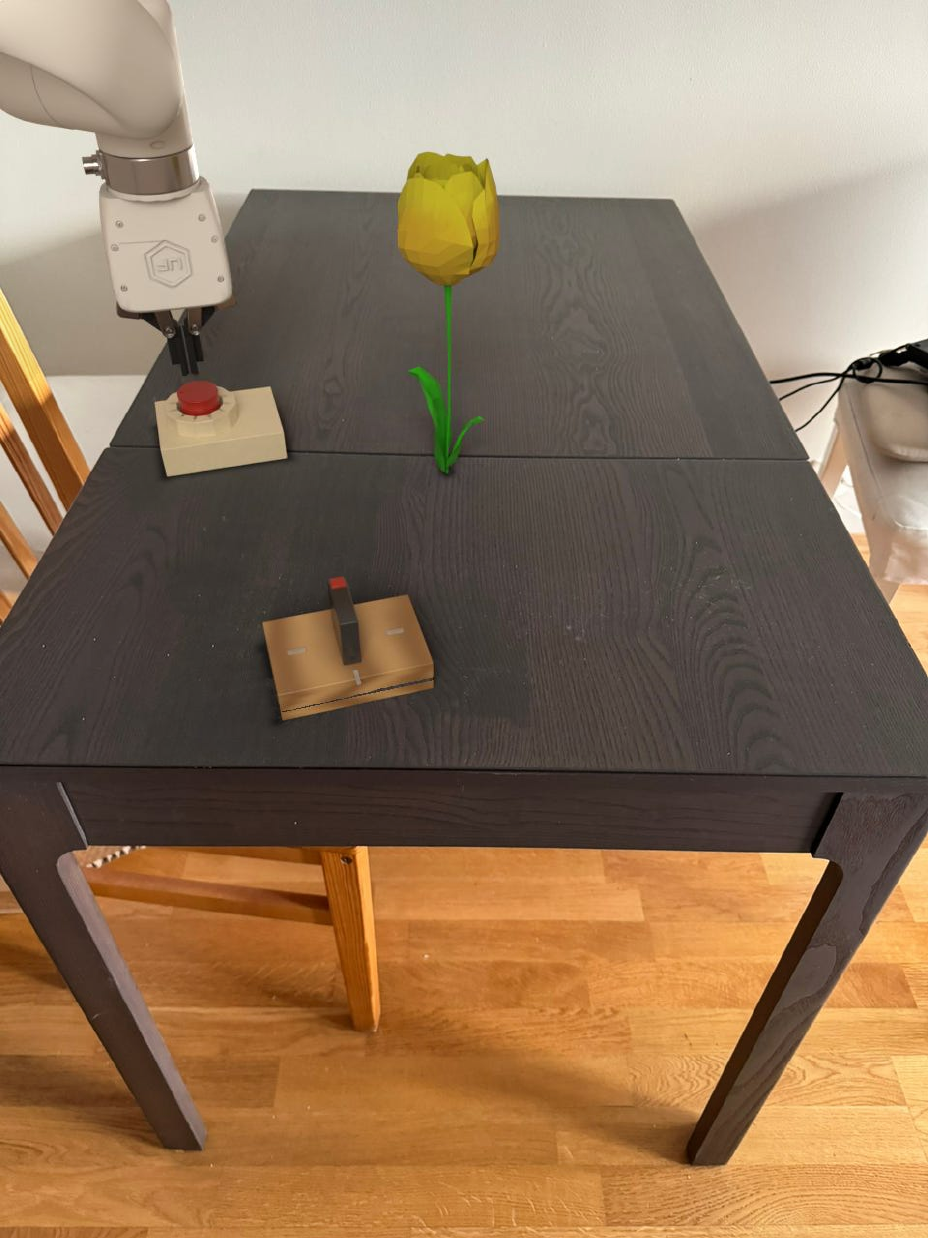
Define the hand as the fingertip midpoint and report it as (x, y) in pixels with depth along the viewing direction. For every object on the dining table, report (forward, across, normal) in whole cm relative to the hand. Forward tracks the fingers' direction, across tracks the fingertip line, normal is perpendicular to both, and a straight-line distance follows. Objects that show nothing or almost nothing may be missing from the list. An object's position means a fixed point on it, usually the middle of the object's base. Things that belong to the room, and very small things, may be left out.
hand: (189, 368), depth 90 cm
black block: (+7, +8, -34) cm, 36 cm away
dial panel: (+10, +8, -34) cm, 36 cm away
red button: (+5, 0, 0) cm, 5 cm away
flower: (+9, +23, -10) cm, 27 cm away
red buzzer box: (+9, +2, 0) cm, 9 cm away
